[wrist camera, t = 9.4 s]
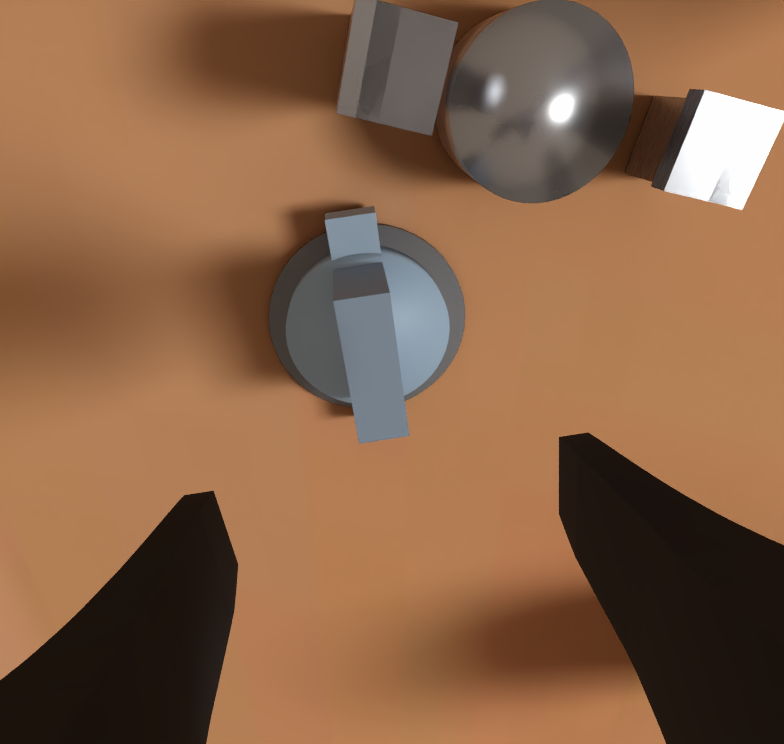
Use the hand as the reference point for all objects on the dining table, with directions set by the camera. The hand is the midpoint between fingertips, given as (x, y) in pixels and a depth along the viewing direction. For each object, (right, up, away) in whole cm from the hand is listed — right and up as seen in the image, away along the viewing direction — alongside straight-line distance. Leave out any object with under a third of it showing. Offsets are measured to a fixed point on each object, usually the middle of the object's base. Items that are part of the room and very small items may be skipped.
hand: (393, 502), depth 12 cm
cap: (-1, +4, +9) cm, 10 cm away
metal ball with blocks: (+4, +11, +6) cm, 13 cm away
